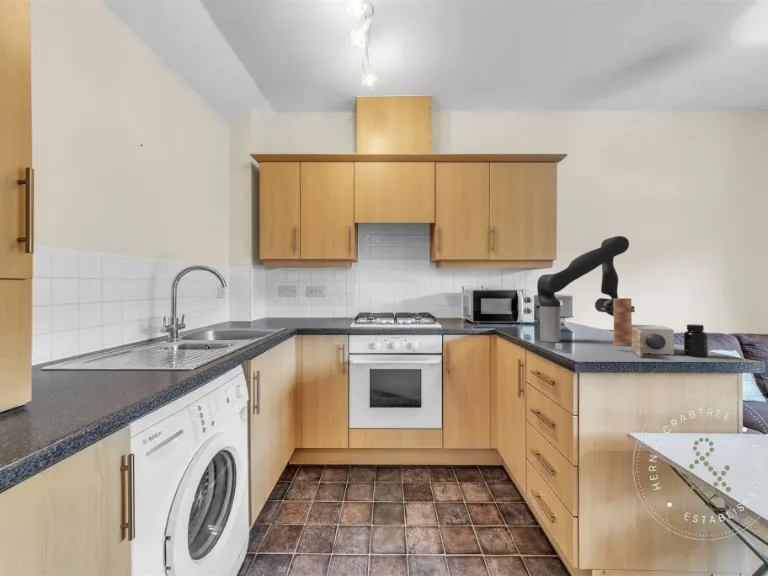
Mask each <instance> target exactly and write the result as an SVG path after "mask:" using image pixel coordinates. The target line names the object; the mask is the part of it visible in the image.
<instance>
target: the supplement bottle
mask: <svg viewBox="0 0 768 576" xmlns="http://www.w3.org/2000/svg"><path fill="white" fill-rule="evenodd" d="M704 328H705V327H704V325H703V324H686V331H685V332H684V333H683V353H684V355H685V356H687V357H691V356H692V358H707V357H708V356H709V344H708V342H709V341H708V334H707V332H705V329H704Z"/></svg>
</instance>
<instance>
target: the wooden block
mask: <svg viewBox="0 0 768 576" xmlns="http://www.w3.org/2000/svg"><path fill="white" fill-rule="evenodd" d="M631 306H632V298H627V297H626V298H619V297H618V298H614V316H613V346H614V347H625V348H629V347H631V349H630V350H631V352H633V353H634V354H636V355H637V356H639V357H640V358H643V357H644V353H643V331H640V330H638V329H636V328H634V327H632V325H633V324H632V316H633V315H632V312H631Z"/></svg>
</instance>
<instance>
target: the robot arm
mask: <svg viewBox="0 0 768 576" xmlns="http://www.w3.org/2000/svg"><path fill="white" fill-rule="evenodd" d="M629 247H630V241H629V239H628V238H627V237H625V236H622V235H617V236H613V237H609V238H606V239H604V240H603V241H602V243H601V245H600V247H598V248H595V249H592V250H589V251H587V252H585V253H583V254H581V255H579V256H577V257H576V258H574V259H572V261H571V262H570V263H569V265H568V266H567V267H566V268H565V269H563V270H560V271H559V272H556V273H552V274H551V273H549V274H542V275H540V276H539V278H538V279H537V285H536V286H537V287H536V288H537V290H536V291H537V300H538V302H539V341H540V342H546V343H549V342H550V343H551V342H552V343H559V342H561V341H562V340H561V335H562V332H561V323H562V322H561V301H560V300H559V299H558V298H556V295H555V294H556V293H559V292H560V291H562V290H563V289H565V288H566V287H567V286H569V285H570V284H571V283H572V282H574V281H576V280H578V279H580V278H581V277H583V276H584V275H587V274H588V273H590V272H592V271H594V270H595V269H596V268H598V267H600V266H601V268H602V270H601V271H602V275H601V276H602V277H601V286H600V287H601V288H600V293H602V294H603V295H606V296H609V297H610V298H604V297H602V298H601V297H599V298H597V299H596V300H595V303H594V307H595V311H596V312H601V313H606V314H607V315H609V316H612V317H614V298H619V295H618V287H619V275H618V273H617V271H616V269H615V265H614V259H615V257H617V256H619V255H621V254H624V253H625V252H627V250H628V249H629ZM635 309H636V308H635V305H631V313H635Z"/></svg>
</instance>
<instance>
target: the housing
mask: <svg viewBox="0 0 768 576" xmlns="http://www.w3.org/2000/svg"><path fill="white" fill-rule="evenodd" d="M632 327H634V328H636V329H638V330H640V331H643V354H648V353H650V354H651V355H665V354H670V355H669V356H674V353H675V350H674V349H675V348H674V347H675V345H674V344H675V343H674V342H675V338H674V335H675V334H674V329H673V328H670V327H668V326H664V325H656V324H655V325H653V324H652V325H649V324H632ZM628 348H629V349H630V348H631V347H628Z"/></svg>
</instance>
